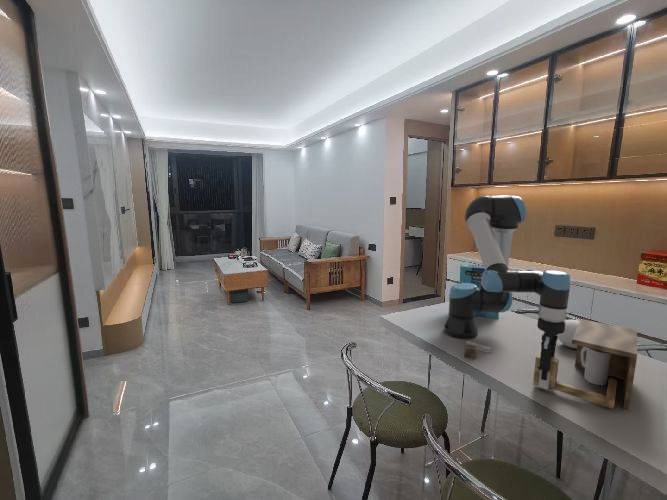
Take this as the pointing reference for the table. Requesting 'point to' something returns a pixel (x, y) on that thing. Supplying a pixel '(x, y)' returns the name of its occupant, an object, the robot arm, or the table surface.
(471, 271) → the game box
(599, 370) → the mug
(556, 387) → the wooden u-shaped rack
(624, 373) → the shelf
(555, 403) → the table surface
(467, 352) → the walnut cube
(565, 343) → the decorative ball
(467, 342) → the grey stick
